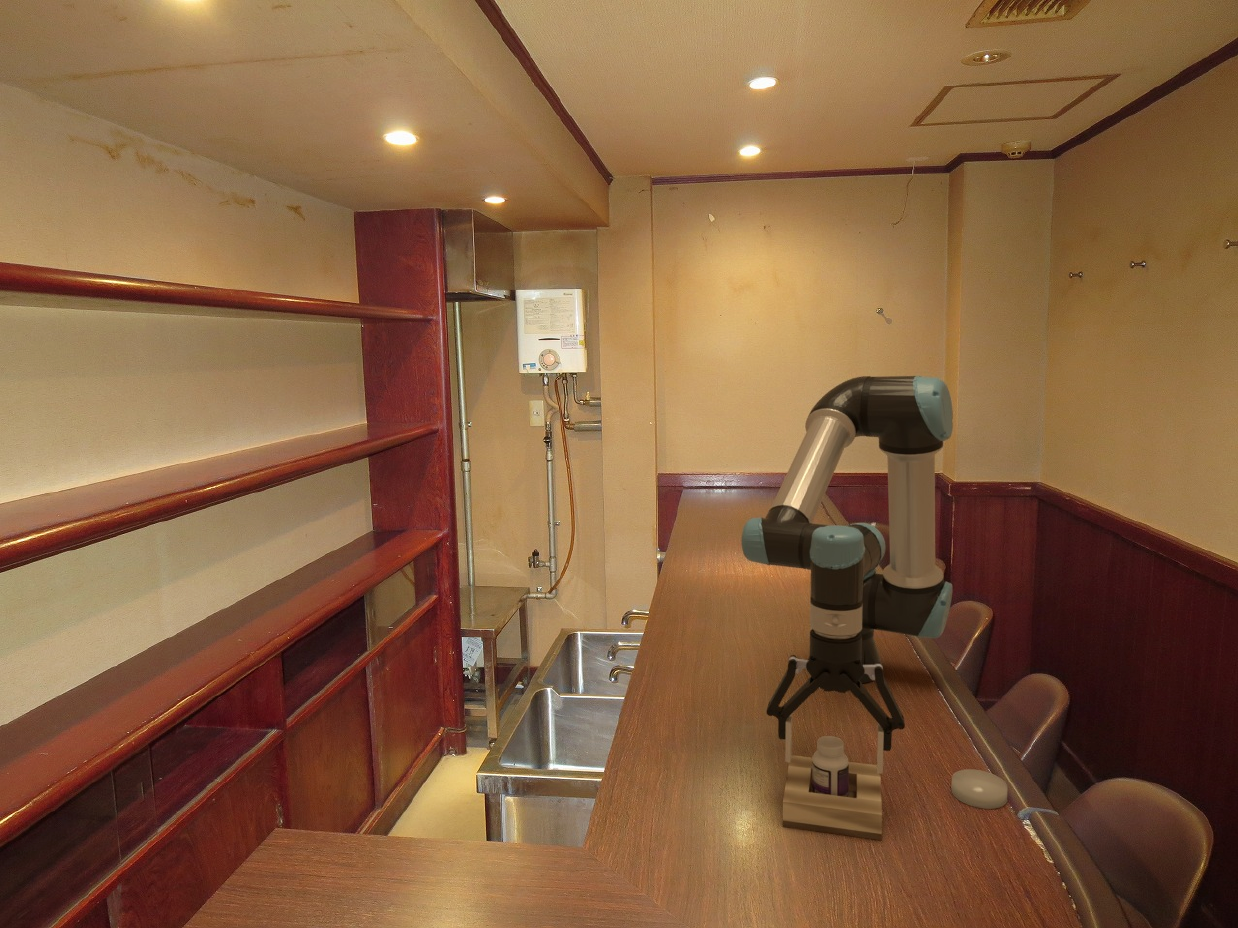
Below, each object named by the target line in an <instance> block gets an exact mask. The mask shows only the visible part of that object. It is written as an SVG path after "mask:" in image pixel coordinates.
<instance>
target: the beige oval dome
mask: <svg viewBox="0 0 1238 928" xmlns="http://www.w3.org/2000/svg"><path fill="white" fill-rule="evenodd" d="M950 788H951V793H952V795H953V796H954V798H956V799H957V800H958V801H959V802H961V803H963V804H965V805H968V806H969V807H970V806H971V807H973V808H978V809H985V810H991V809H992V810H994V809H999V808H1002V807H1003V806H1005V804H1007V802H1008V785H1007V783H1006V781H1005V780H1003V779H1002V778H1001V777H1000V776H998V775H996V774H993V773H991V772H988V771H984V770H982V769H981V770H980V769H973V768H972V769H971V768H970V769H969V768H967V769H966V768H965V769H961V770H958V771H955V772H954V773H953V774H952V775H951V787H950Z"/></svg>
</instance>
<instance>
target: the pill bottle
mask: <svg viewBox="0 0 1238 928" xmlns="http://www.w3.org/2000/svg"><path fill="white" fill-rule="evenodd" d="M849 762H850V761H849V758H848V756H847V754H846V753H845V743H844V741H843V739H841V738H839V737H837V736H834V735H824V736H821V737H819V738H818V739H817V741H816V751H815V752H814V753H813V755H812V774H813V793H820V794H827V795H835V796H843V797H849Z"/></svg>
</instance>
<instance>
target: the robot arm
mask: <svg viewBox="0 0 1238 928" xmlns="http://www.w3.org/2000/svg"><path fill="white" fill-rule="evenodd" d="M953 410H954V409H953V404H952V398H951V393H950V389H949V387H948V386H947V384H946V382H945V381H944V380H943V379H942V378H939V377H933V376H931V377H930V376H929V377H928V376H921V375H908V376H907V375H902V376H901V375H898V376H897V375H896V376H893V375H892V376H889V375H888V376H871V375H869V376H868V375H867V376H866V375H865V376H856V377H852V378H850V379H847V380H845V381H843V382H841V383H839V384H838V385H836V386H834V387H833V388H832V389H830V390H829V391H827V392H826V393H825V394H824V395H823V396H822V397H820V399H819V400H817V402H816V403H815V405H814V406H813V407H812V408H811V411H810V412H809V414H808V416H807V418H806V421H805V423H804V424H805V434H804V437H803V439H802V441H801V443H800V445H799V448H798V449H797V452H796V453H795V456H794V458H793V459H792V462H791V464H790V467H789V468H788V470H787V472H786V475H785V477H784V479H783V481H782V483H781V485H780V488H779V490H778V492H777V494H776V496H775V498H774V499H773V502H772V504H771V507H770V509H769V510H768V512H767V513H766V516H765V517H762V516H759V517H751V518H749V519H748V520H747V521H746V522H745V524H744V526H743V528H742V532H741V533H742V534H741V540H740V542H741V550H742V553H743V556H744V557H745V559H746V560H747V561H749V562H753V563H756V564H757V563H758V564H762V565H767V566H776V567H777V566H779V567H784V568H785V567H787V568H795V569H803V570H809V571H810V600H809V608H810V609H809V627H810V628H811V630H810V631H809V656H808V659H802V658H798V657H797V656H796V655H795V654H791V655H789V659H788V664H787V669H786V671H785V673H784V675H783V677H782V678H781V681H780V682H779V684H778V685H777V687H776V689H775V690H774V693H773V695H772V697H771V698H770V700H769V701H768V704H767V707H766V711H765V713H766V714H767V715H768V717H769V716H770V717H775V718H776V719H777V721H778V726H777V728H778V730H777V731H778V733H777V736H778V738H779V739H780V740H785V755H784V756H785V759H784V761H785V763H788V764H789V763H790V762H791V756H792V755H793V754H792V753H793V752H792V751H793V715H792V714H793V713H794V712H795V711H796V710H797V709H798V708H799V707H801V705H802V704H804V702H805V701H806V700H807V699H808V698H809V697H810V696H811V695H813V694H814V693H815V692H817V690H819V688H820V689H821V690H823V692H837V693H840V694H845V693H846V692H850V693H852V695H853V696H854V697H855V698H856V699H858V701H860V703H861V704H862V705H863V707H864V708H865V709H866V710H867V712H869V714H870V715H871V717H872V718H873V719H874V720H875V721H876V722H877V723H878V724H877V742H876V743H877V744H876V745H877V746H876V747H877V748H876V749H877V750H876V765H877V773H880V775H881V774H882V775H883V772H884V769H883V768H884V751H885V752H890V751H891V749H892V736H893V732H894V731H895V730H904V729H905V727H906V723H905V716H904V715H903V713H902V711H901V709H900V706H899V704H898V702H897V700H896V698H895V697H894V694H893V692H892V690H891V689H890V686H889V684H888V683H887V680H886V678H885V677H884V668H883V667H884V666H883V663H882V660H881V656H880V653H879V650H878V647H877V644H876V641H875V636H874V635H875V634H874V633H875V631H876V630H877V631H882V632H888V633H894V634H899V635H900V634H901V635H908V636H913V637H916V638H918V639H919V638H927V639H928V638H929V639H937V638H940V636H942V634H943V632H944V630H945V628H946V624H947V620H948V616H949V613H950V608H951V604H952V597H953V584H952V583H951V582H948V581H946V580H944V579H945V578H944V571H943V570H942V569H941V568H940V567H939V566H938V565H936V495H935V494H936V473H935V472H936V470H935V468H936V467H935V465H936V462H935V461H936V458H935V457H936V454H938V453H939V452H940V451H941V450H942V449H943V448H944V441H946V440H947V441H948V440H949V439H950V438H951V437H952V434H953V428H954V422H953V419H954V413H953ZM858 437H868V438H870V437H871V438H878V448H879V450H880V451H881V452H883V453H884V454H885V455H886V456H887V489H888V491H887V493H888V495H887V496H888V497H887V498H888V526H889V527H888V528H889V529H888V530H889V531H888V532H889V536H888V537H889V564H888V565H887V566H885V567H884V568H883V570H882V573H878V572H877V569H876V568H877V567H878V566H879V565H880V563H881V561H882V559H883V558H884V556H885V554H886V548H887V547H886V541H885V538H884V536H883V534H882V532H881V531H880V530H879V529H877V528H876V527H875V526H874V525H872V524H869V523H866V522H857V523H853V524H849V525H837V524H836V525H835V524H834V525H829V524H820V523H813V522H814V520H815V517H816V516H817V513H818V510H819V508H820V505H821V503H822V501H823V498H824V497H825V494H826V491H827V490H828V487H829V485H830V483H831V480H832V478H833V476H834V473H835V471H836V468H837V467H838V465H839V461H840V459H841V458H842V455H843V453H844V450H845V449H846V448H847V447H849V446H850V445H851V444H852V443H853V442H854V441H855V439H856V438H858ZM803 669H805V670H806V671H807V672H808V674H809V675H810V677H809V678H807V680H806V682H804V684H803V685H802V686H801V687H800V688H799V689H798V690H797V691H796V692H795V693H794V694H793V695H792V696H791V697H790V698H789V699H788V700H787V701H786V702H785V703H784V704H782V705H781V706H780V704H781V702H782V701H783V699H784V697H785V695H786V693H787V692H788V689H790V687H791V684H792V683H793V681H794V679H795V676H796V675H797V674H800V673H801V672H802V671H803ZM873 681H875V685H876V687H877V690H878V691H879V694H880V697H881V698H882V700H883V702H884V704H885V706H886V708H887V710H888V713H889V714H890V716H889V715H888V714H887V713H886V712H885V711H884V709H883V708H882V707H881V706H880V705H879V704H878V702H877V701H876V700H875V699H874V697H873V696H872V695H871V694H870V693H869V692H868V689H866V688H865V686H864V684H866V683H870V682H873Z"/></svg>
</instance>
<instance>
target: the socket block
mask: <svg viewBox="0 0 1238 928" xmlns="http://www.w3.org/2000/svg"><path fill="white" fill-rule="evenodd" d="M812 758H813V756H812V757H810V756H801V755H793V754H792V756H791V762H790V763H788V768H787V773H786V779H785V787H784V793H783V798H782V827H783V828H791V829H798V830H803V831H804V830H806V831H812V832H820V833H825V834H826V833H827V834H833V835H841V836H848V837H855V838H861V839H870V840H877V841H882V839H883V838H882V837H883V836H882V834H883V829H882V828H883V803H882V802H883V801H882V783H881V782H882V781H881V780H882V779H881V773H877V764H871V763H860V762H854V761H853V762H852V761H849V797H843V796H835V795H827V794H820V793H813V774H812Z"/></svg>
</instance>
